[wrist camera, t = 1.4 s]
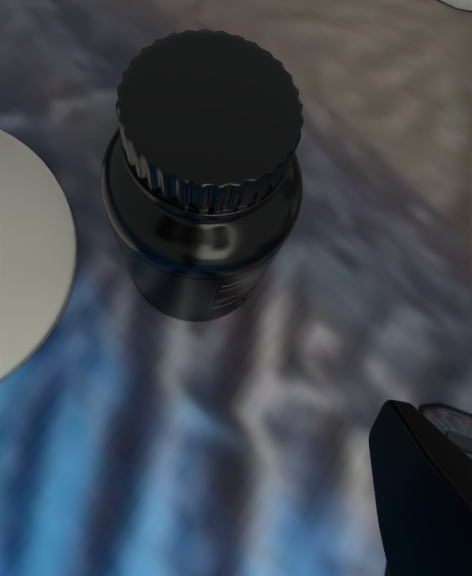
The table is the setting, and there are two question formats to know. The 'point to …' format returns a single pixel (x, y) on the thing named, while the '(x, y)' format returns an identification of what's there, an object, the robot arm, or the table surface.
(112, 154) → the supplement bottle
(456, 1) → the bottle
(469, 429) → the dark grey flat block
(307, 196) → the table surface
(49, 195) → the saucer
